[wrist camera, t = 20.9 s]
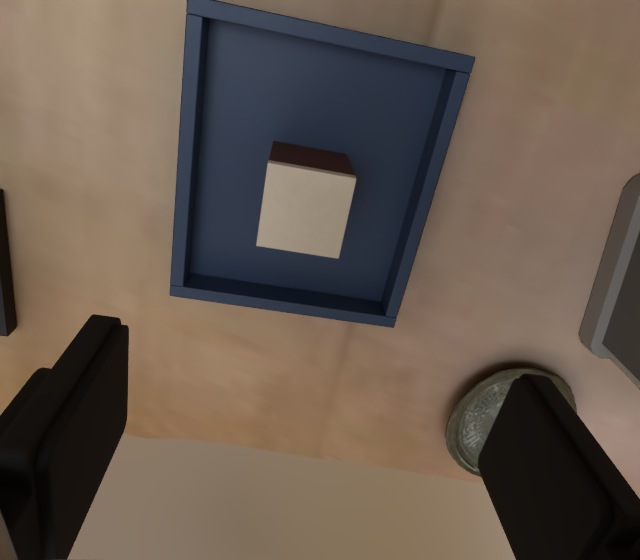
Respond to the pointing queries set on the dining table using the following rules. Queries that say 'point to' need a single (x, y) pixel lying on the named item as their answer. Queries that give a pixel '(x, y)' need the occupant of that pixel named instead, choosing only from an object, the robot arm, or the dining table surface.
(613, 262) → the alarm clock
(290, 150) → the cake slice
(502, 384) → the lid
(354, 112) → the tray
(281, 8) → the dining table surface
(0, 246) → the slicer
